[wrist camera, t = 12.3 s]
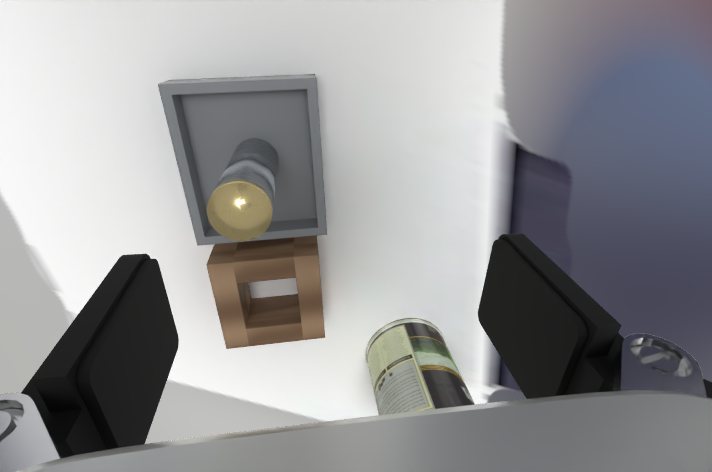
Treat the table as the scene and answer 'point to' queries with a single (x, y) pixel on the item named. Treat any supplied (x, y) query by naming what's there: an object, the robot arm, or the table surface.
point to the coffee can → (413, 369)
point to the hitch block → (271, 314)
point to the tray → (241, 122)
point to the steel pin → (245, 192)
